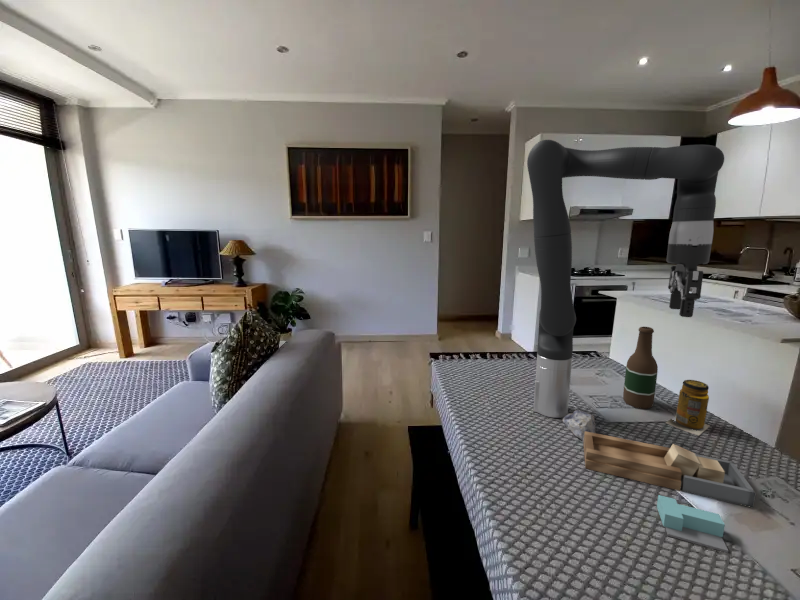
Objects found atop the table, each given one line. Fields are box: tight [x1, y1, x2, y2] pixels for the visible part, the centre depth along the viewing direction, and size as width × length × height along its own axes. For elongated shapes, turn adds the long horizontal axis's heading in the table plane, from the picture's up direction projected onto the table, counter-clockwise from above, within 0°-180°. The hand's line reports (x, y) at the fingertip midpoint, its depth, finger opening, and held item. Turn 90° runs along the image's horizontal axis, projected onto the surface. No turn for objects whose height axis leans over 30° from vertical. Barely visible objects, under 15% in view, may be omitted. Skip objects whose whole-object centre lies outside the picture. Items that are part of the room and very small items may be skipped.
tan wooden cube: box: [664, 443, 701, 477], centre depth 74 cm, size 4×4×4 cm
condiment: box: [665, 379, 711, 437], centre depth 93 cm, size 7×8×12 cm
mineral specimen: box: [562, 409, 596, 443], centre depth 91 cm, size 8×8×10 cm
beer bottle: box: [622, 326, 659, 410], centre depth 104 cm, size 8×8×24 cm
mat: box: [664, 527, 729, 554], centre depth 62 cm, size 8×8×1 cm
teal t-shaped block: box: [656, 494, 726, 538], centre depth 62 cm, size 2×5×8 cm
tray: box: [680, 453, 756, 508], centre depth 72 cm, size 11×10×3 cm
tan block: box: [693, 456, 725, 483], centre depth 72 cm, size 4×4×4 cm
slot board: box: [582, 431, 682, 491], centre depth 78 cm, size 17×10×4 cm, turn 65°
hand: (680, 312), depth 81 cm, fingers open, 8 cm apart
